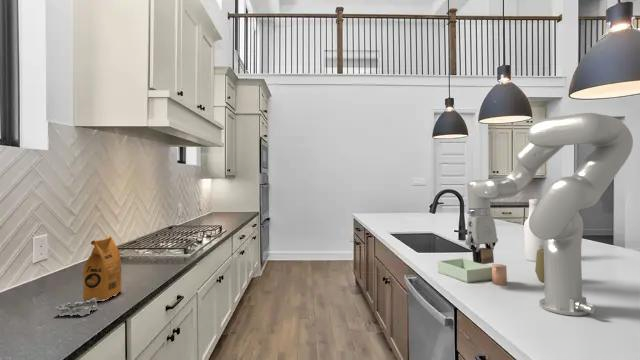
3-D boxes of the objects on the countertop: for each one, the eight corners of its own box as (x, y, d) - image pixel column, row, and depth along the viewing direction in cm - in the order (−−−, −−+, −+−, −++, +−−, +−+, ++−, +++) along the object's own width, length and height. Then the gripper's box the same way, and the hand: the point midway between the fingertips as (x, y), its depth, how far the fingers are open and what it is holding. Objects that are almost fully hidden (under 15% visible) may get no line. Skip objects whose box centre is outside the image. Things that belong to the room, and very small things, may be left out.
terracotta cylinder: (510, 284, 131) (509, 266, 131) (499, 286, 129) (499, 267, 129) (499, 281, 136) (498, 263, 136) (489, 282, 134) (488, 264, 134)
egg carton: (101, 309, 116) (101, 297, 116) (85, 318, 108) (85, 305, 108) (70, 309, 116) (70, 297, 116) (52, 318, 109) (52, 305, 109)
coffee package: (77, 303, 121) (76, 241, 121) (100, 292, 134) (99, 235, 134) (105, 303, 121) (104, 240, 121) (126, 291, 134) (124, 235, 134)
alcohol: (523, 257, 174) (521, 198, 174) (543, 259, 171) (542, 198, 171) (526, 261, 166) (524, 199, 166) (547, 263, 162) (546, 199, 163)
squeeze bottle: (552, 278, 138) (551, 233, 138) (564, 284, 130) (563, 237, 130) (531, 278, 138) (530, 233, 138) (542, 284, 130) (540, 237, 130)
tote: (494, 279, 138) (494, 266, 138) (467, 283, 134) (466, 270, 134) (463, 269, 155) (462, 258, 155) (438, 272, 151) (437, 261, 151)
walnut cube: (493, 262, 127) (492, 249, 127) (483, 264, 125) (482, 250, 126) (483, 260, 132) (482, 247, 132) (473, 262, 130) (472, 248, 130)
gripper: (468, 214, 123) (472, 265, 122) (505, 211, 129) (509, 260, 128) (454, 214, 130) (457, 262, 129) (489, 211, 136) (493, 257, 135)
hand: (483, 260), depth 129 cm, fingers closed on walnut cube, 4 cm apart
